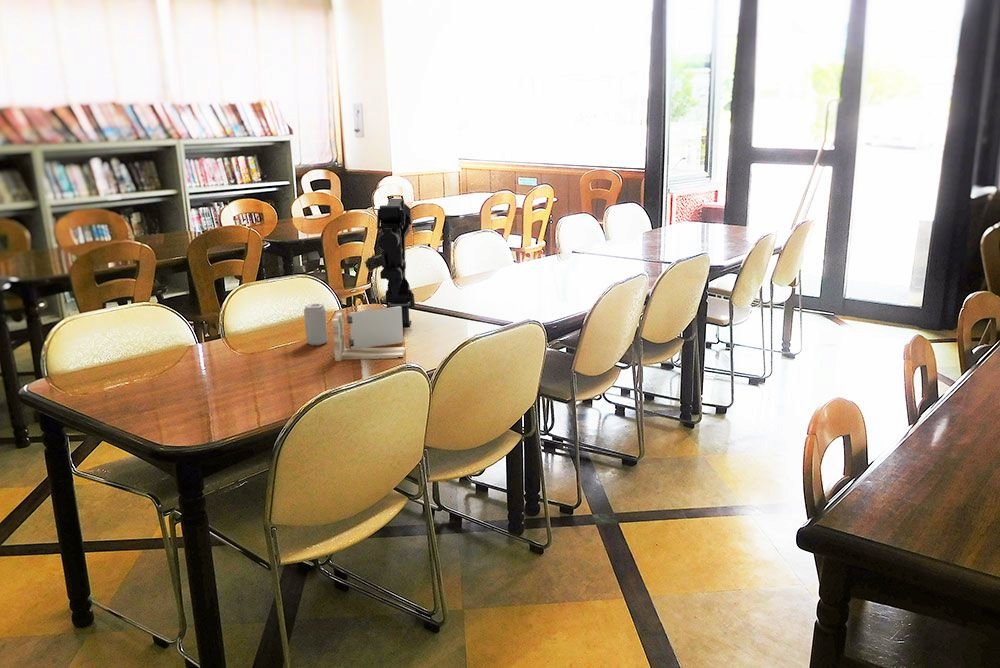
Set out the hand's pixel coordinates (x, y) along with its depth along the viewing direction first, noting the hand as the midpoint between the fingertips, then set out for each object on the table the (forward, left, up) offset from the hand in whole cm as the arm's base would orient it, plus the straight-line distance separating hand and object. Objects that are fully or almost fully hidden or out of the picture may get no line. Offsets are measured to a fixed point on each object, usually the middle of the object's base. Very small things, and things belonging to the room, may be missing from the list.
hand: (395, 296), depth 250 cm
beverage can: (+6, -24, -13) cm, 28 cm away
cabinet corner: (+20, -6, -13) cm, 25 cm away
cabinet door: (+12, -5, -12) cm, 18 cm away
